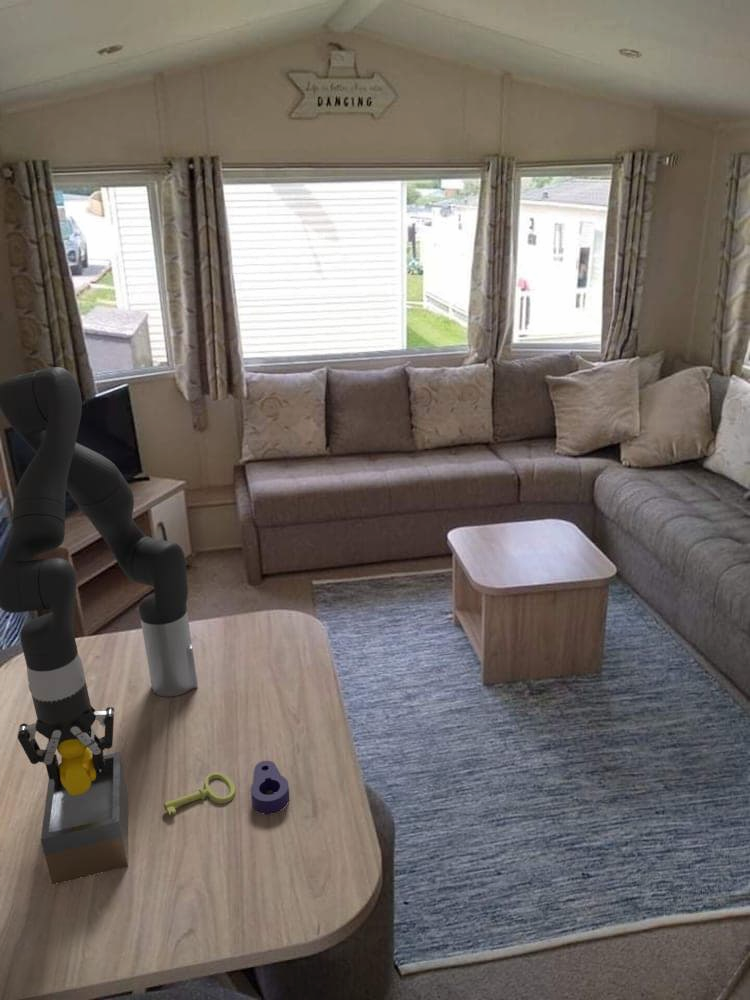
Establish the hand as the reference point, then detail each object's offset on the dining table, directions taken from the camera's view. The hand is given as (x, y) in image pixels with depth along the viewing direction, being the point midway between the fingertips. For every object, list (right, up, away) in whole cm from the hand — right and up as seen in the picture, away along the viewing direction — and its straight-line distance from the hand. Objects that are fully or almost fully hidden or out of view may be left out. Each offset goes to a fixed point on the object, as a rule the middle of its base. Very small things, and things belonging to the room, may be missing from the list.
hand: (78, 773), depth 119 cm
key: (+17, -9, +13) cm, 23 cm away
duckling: (0, -2, +1) cm, 2 cm away
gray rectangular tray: (+1, -12, +5) cm, 13 cm away
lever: (+28, -8, +14) cm, 32 cm away
